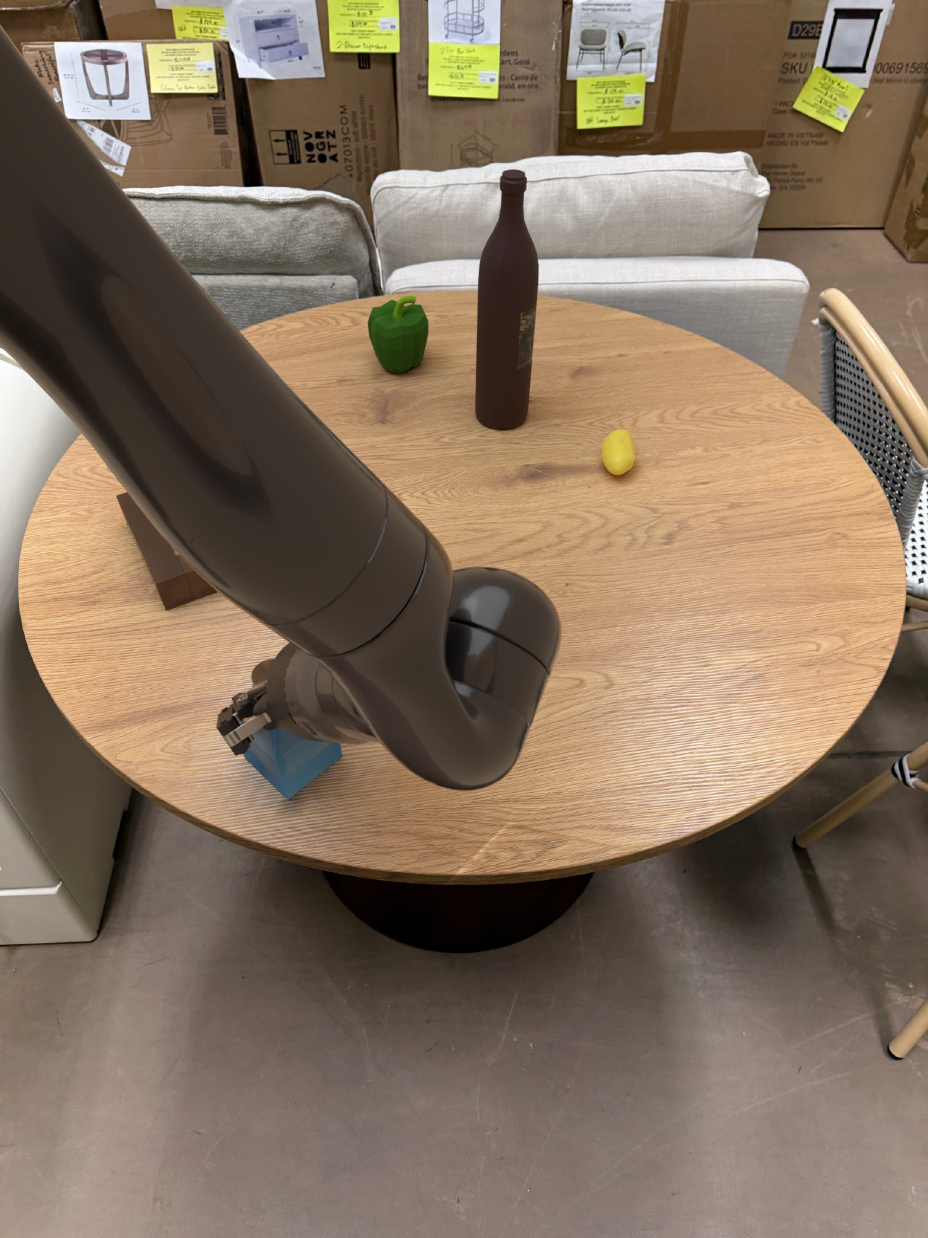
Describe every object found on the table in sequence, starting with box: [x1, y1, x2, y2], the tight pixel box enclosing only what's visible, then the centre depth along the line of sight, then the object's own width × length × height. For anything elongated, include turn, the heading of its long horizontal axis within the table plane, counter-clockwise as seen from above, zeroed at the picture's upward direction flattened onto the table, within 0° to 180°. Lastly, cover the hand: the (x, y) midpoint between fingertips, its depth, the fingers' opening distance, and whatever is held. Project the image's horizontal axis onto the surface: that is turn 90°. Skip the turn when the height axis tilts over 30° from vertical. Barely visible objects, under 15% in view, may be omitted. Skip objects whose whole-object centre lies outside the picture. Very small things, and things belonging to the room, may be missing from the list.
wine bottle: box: [474, 168, 540, 430], centre depth 97 cm, size 7×7×30 cm
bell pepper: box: [367, 295, 429, 374], centre depth 113 cm, size 8×8×10 cm
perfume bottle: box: [242, 657, 344, 801], centre depth 68 cm, size 6×6×12 cm
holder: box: [115, 491, 218, 611], centre depth 90 cm, size 16×16×4 cm
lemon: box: [600, 429, 636, 476], centre depth 100 cm, size 4×8×4 cm, turn 167°
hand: (264, 690), depth 68 cm, fingers closed on perfume bottle, 4 cm apart
